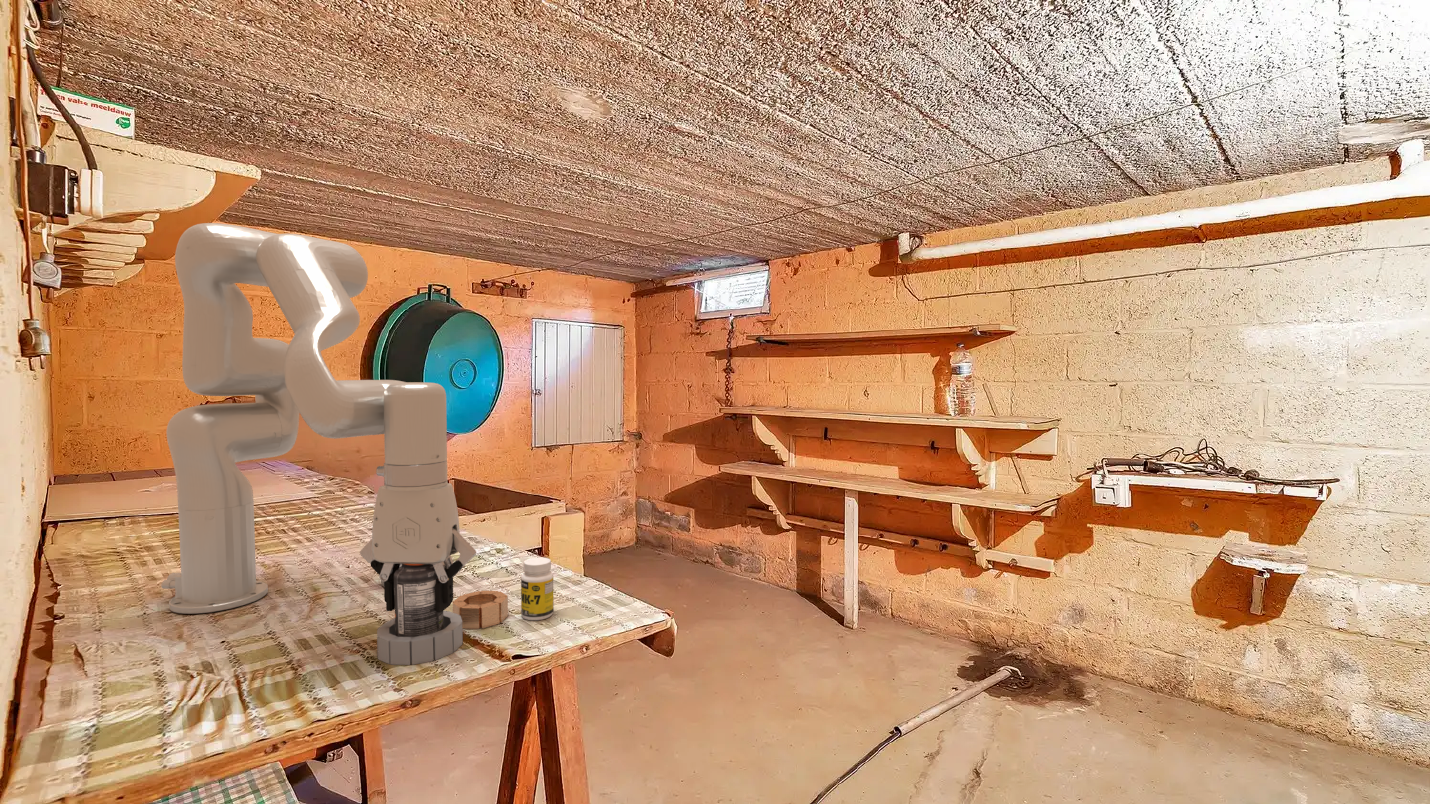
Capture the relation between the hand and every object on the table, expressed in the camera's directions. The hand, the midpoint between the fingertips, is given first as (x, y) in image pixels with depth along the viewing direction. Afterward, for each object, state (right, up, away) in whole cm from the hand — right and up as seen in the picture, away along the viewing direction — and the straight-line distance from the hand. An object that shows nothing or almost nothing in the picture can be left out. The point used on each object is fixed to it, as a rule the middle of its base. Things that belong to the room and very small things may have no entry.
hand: (419, 606), depth 86 cm
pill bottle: (0, -4, 0) cm, 4 cm away
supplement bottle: (+13, -5, +12) cm, 18 cm away
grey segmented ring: (0, -5, 0) cm, 5 cm away
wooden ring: (+5, -5, +10) cm, 12 cm away
